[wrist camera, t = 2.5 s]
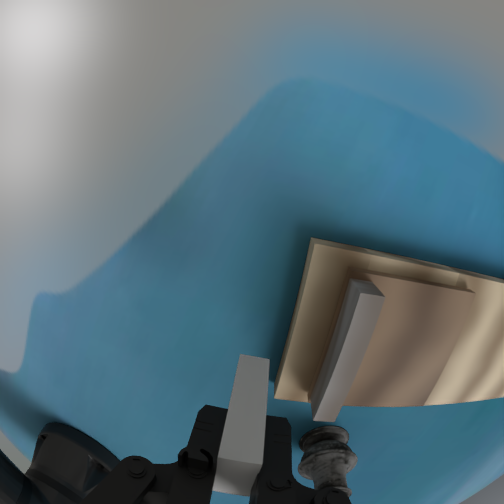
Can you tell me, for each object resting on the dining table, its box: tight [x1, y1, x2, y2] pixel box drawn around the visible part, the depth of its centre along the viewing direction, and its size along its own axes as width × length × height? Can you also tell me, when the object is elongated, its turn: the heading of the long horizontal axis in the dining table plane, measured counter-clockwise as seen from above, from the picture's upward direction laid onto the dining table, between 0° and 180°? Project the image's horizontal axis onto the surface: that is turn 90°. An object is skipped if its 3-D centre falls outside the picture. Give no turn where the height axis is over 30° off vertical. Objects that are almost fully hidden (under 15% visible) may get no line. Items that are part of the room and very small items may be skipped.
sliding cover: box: [307, 266, 476, 422], centre depth 18 cm, size 11×11×4 cm
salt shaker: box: [298, 426, 357, 497], centre depth 20 cm, size 6×6×12 cm
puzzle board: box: [274, 237, 504, 405], centre depth 21 cm, size 28×13×2 cm, turn 80°
